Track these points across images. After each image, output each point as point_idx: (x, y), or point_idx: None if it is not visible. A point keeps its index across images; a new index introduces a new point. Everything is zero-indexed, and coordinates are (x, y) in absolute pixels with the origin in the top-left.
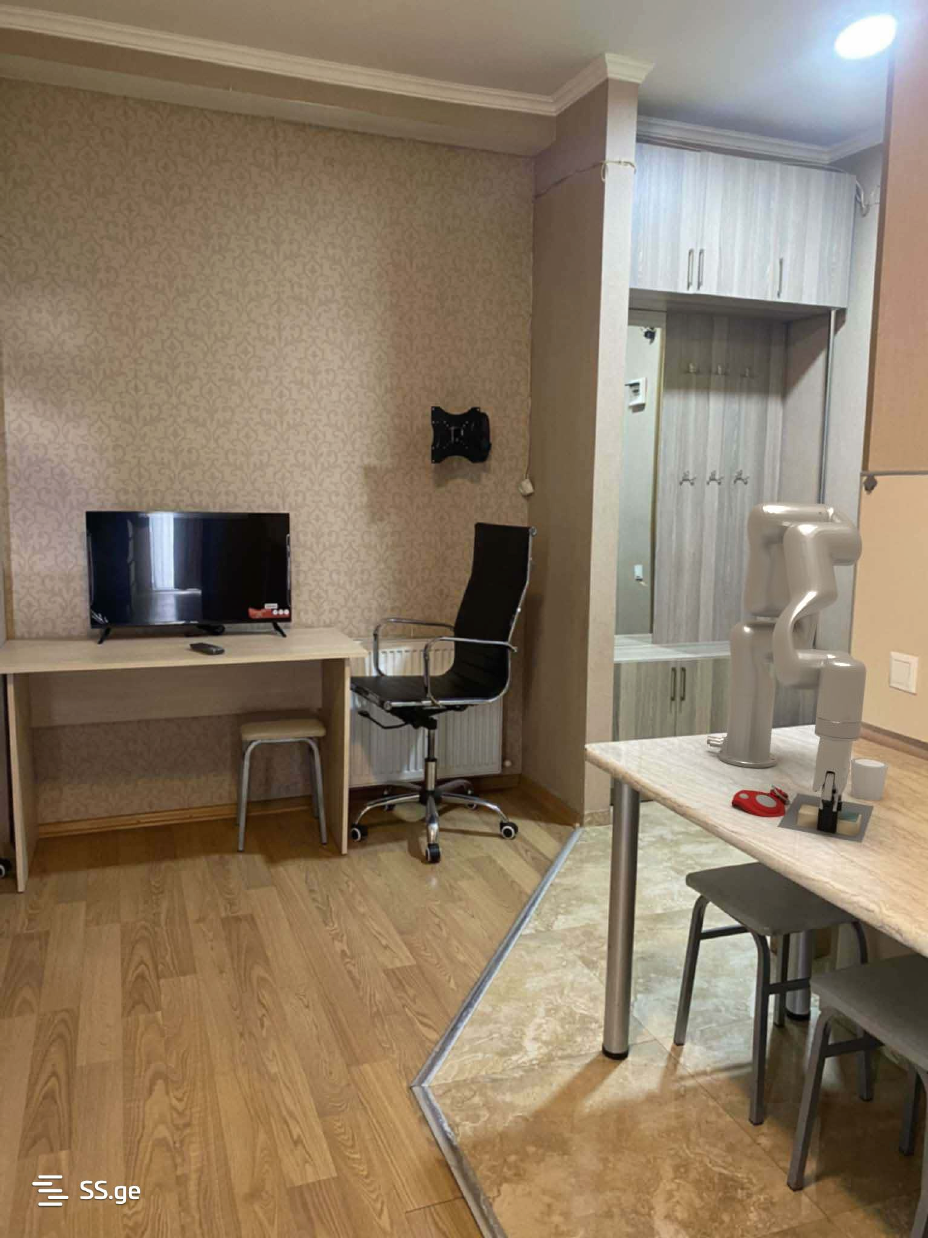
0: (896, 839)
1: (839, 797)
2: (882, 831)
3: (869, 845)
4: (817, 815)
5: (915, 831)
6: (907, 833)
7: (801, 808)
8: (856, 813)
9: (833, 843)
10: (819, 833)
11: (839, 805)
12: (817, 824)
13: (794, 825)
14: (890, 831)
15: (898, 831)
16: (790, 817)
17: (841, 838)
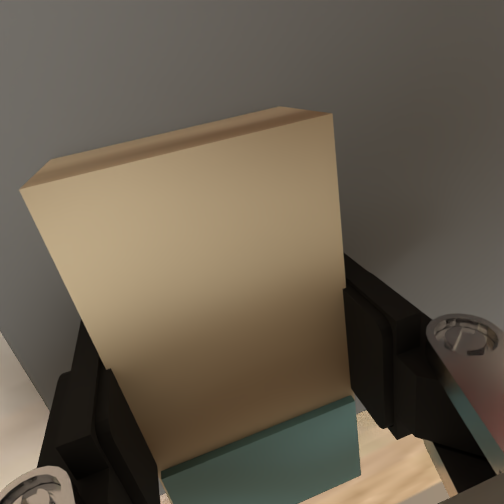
0: (318, 497)
1: (434, 459)
2: (376, 433)
3: (160, 501)
4: (103, 357)
5: (439, 476)
6: (406, 477)
7: (186, 159)
8: (351, 469)
9: (13, 424)
10: (36, 345)
11: (374, 415)
12: (78, 334)
13: (28, 140)
14: (394, 445)
15: (410, 456)
16: (208, 25)
17: None
